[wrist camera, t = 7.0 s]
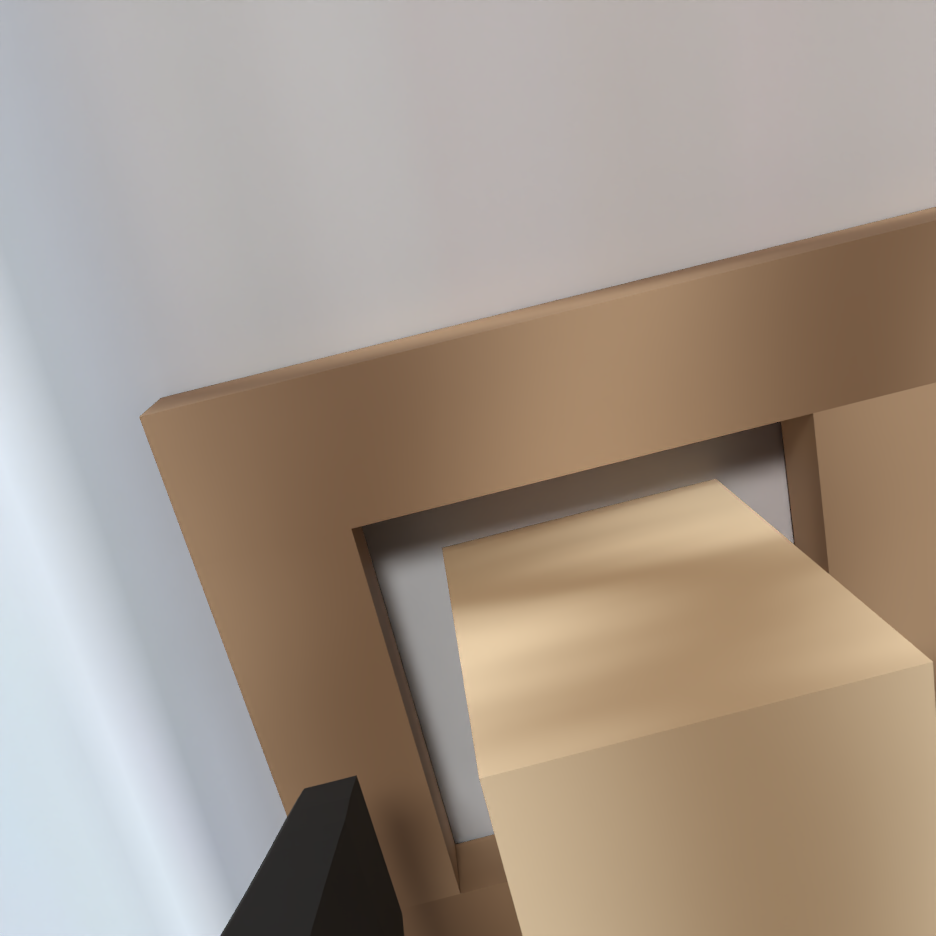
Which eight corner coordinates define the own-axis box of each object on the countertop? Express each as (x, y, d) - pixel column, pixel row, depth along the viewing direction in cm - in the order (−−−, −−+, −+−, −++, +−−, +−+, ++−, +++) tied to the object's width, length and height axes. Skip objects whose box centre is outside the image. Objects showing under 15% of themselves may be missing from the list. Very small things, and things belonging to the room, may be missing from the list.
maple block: (501, 774, 13) (568, 1100, 8) (441, 546, 12) (479, 778, 7) (748, 711, 13) (952, 998, 8) (714, 477, 12) (933, 661, 7)
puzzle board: (494, 1328, 17) (502, 1408, 16) (161, 397, 11) (134, 421, 10) (1243, 1126, 17) (1303, 1191, 16) (1347, 105, 11) (1458, 94, 10)
